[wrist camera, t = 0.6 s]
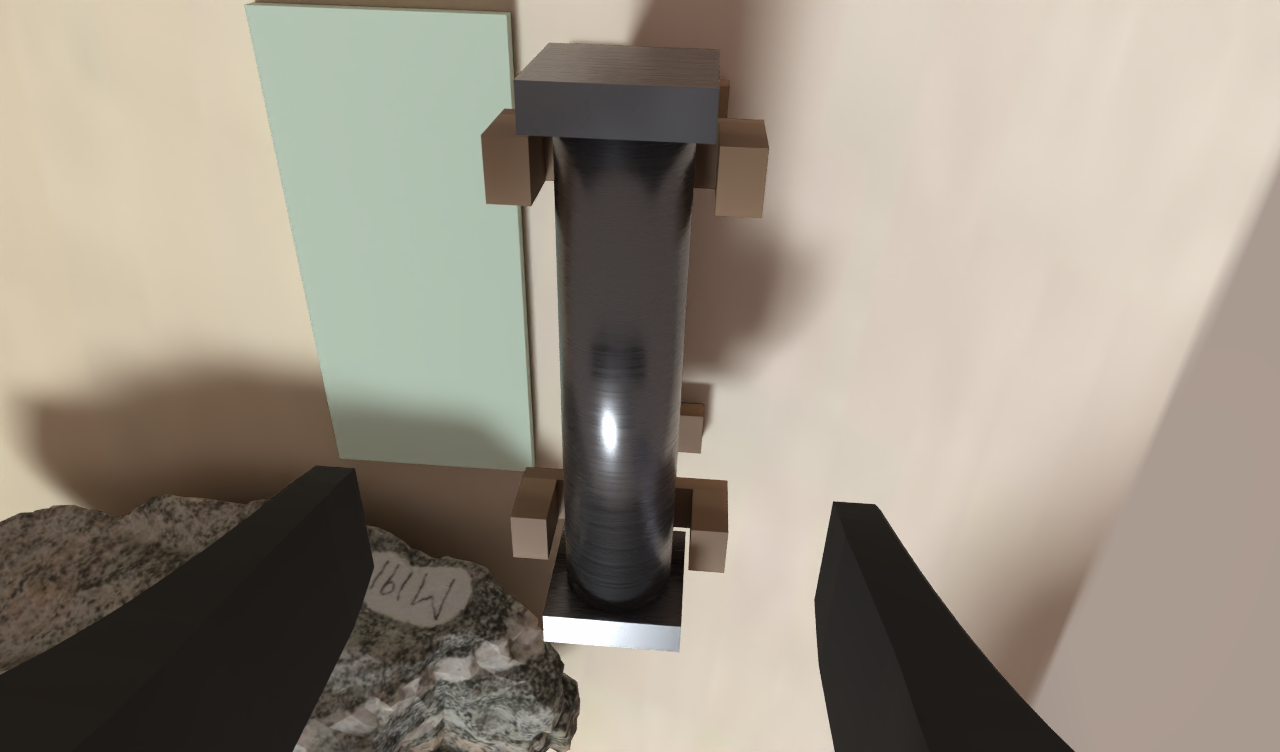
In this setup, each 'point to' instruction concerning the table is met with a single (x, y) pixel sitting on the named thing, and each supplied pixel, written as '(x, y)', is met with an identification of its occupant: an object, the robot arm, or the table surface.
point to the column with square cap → (620, 323)
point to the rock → (373, 656)
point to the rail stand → (699, 503)
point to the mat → (403, 226)
